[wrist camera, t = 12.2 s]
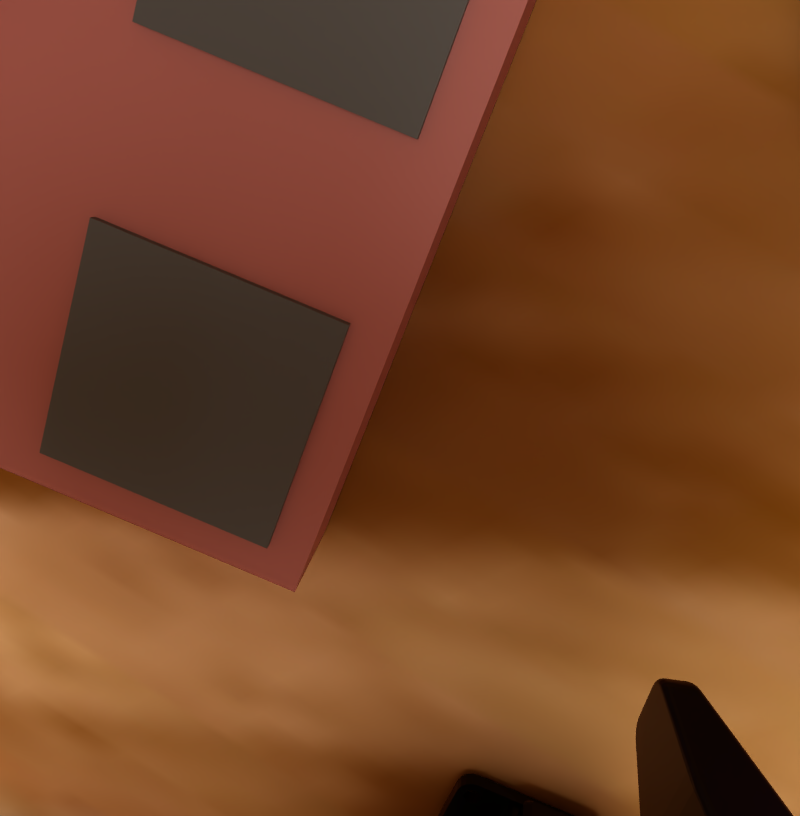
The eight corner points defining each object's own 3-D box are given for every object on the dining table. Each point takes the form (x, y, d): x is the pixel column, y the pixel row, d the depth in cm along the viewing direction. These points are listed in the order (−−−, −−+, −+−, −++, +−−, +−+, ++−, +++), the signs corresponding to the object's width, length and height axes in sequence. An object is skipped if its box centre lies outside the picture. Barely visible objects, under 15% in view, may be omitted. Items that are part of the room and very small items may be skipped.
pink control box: (323, 533, 22) (276, 628, 18) (-252, 291, 22) (-434, 327, 18) (612, -192, 15) (645, -316, 11) (-215, -529, 15) (-493, -777, 11)
